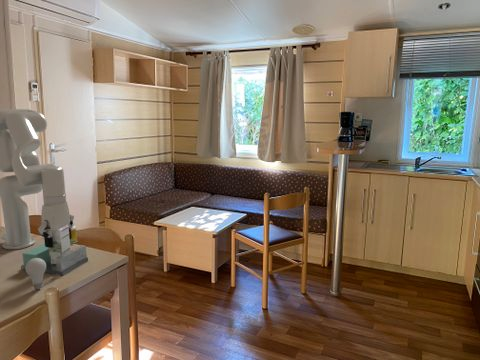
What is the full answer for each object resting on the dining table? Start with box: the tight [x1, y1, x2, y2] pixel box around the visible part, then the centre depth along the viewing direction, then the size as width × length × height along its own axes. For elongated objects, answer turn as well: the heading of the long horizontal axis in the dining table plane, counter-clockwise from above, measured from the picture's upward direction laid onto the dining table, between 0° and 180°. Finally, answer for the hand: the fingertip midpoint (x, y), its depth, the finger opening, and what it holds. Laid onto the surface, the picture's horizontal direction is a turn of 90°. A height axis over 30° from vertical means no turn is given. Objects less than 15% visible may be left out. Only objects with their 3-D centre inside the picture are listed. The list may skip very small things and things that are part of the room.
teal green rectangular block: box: [22, 243, 50, 266], centre depth 144 cm, size 6×14×5 cm, turn 165°
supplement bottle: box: [70, 220, 78, 245], centre depth 167 cm, size 5×5×10 cm
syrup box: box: [48, 225, 72, 265], centre depth 141 cm, size 6×6×14 cm
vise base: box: [20, 244, 89, 276], centre depth 143 cm, size 19×14×6 cm
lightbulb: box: [25, 258, 46, 290], centre depth 123 cm, size 6×6×11 cm
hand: (58, 242), depth 141 cm, fingers open, 9 cm apart
